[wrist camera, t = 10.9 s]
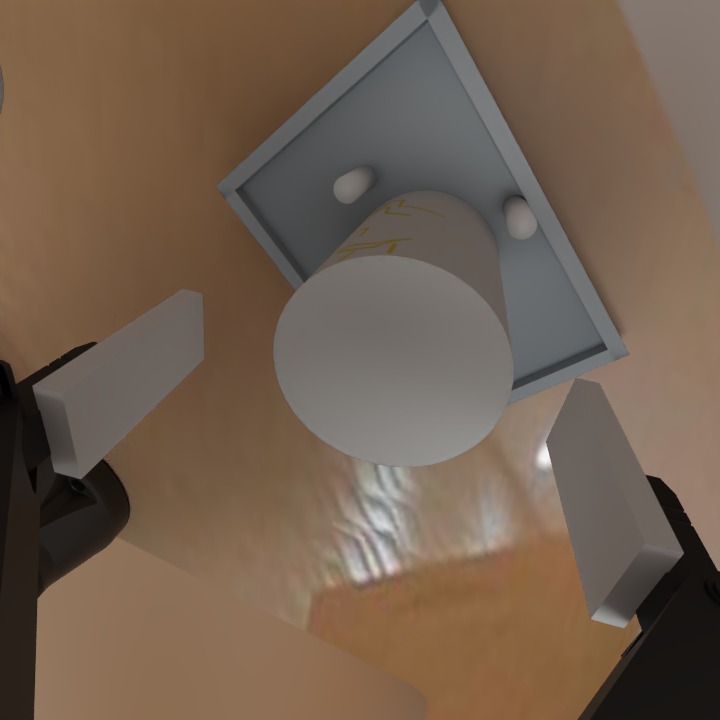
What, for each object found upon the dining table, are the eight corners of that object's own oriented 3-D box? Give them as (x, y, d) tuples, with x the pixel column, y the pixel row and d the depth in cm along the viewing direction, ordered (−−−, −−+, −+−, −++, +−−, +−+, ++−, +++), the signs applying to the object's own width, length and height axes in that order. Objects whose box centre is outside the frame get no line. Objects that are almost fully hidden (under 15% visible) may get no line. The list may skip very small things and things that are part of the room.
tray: (232, 181, 27) (183, 196, 22) (436, -6, 21) (425, -35, 16) (416, 426, 33) (406, 477, 28) (619, 338, 26) (648, 385, 22)
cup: (421, 155, 23) (376, 195, 13) (531, 265, 24) (570, 382, 14) (325, 267, 27) (232, 366, 17) (424, 356, 28) (393, 498, 18)
